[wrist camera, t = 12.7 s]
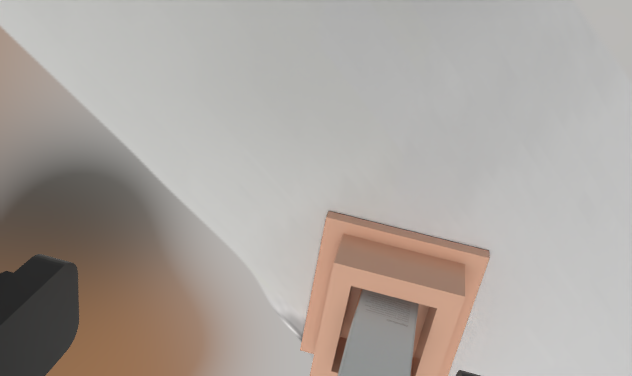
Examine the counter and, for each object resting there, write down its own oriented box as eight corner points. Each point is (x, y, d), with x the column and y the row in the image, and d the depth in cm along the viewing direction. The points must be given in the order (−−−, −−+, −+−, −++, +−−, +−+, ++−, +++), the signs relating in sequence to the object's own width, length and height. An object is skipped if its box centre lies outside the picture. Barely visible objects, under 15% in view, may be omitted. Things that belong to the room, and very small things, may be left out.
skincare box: (366, 266, 45) (338, 378, 35) (421, 282, 45) (410, 401, 34) (348, 327, 48) (317, 448, 38) (400, 343, 48) (383, 470, 37)
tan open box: (302, 342, 51) (288, 384, 47) (328, 210, 45) (314, 244, 41) (443, 381, 50) (441, 428, 45) (489, 250, 44) (492, 290, 39)
